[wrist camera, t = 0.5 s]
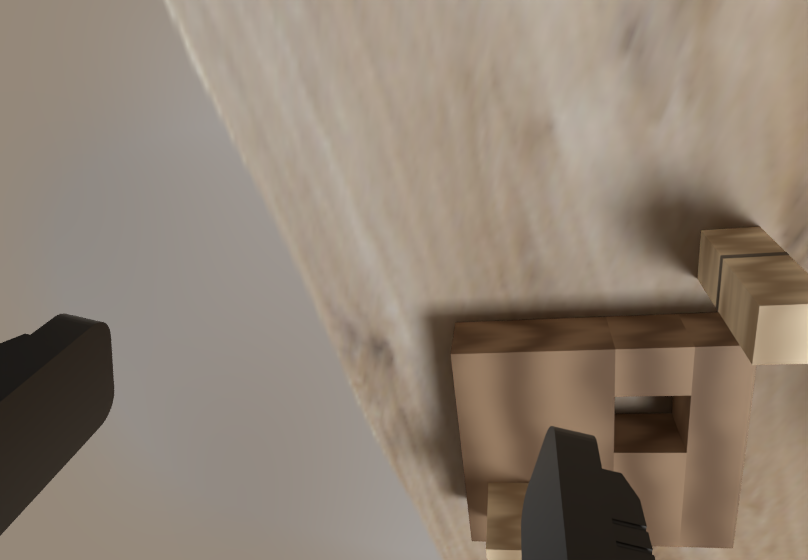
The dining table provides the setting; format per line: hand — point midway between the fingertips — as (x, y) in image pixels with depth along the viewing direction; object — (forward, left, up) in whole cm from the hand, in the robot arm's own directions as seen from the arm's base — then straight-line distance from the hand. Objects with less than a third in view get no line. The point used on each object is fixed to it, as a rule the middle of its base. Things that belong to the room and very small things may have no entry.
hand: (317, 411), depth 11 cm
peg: (-19, +14, -37) cm, 44 cm away
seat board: (-9, +29, -37) cm, 48 cm away
